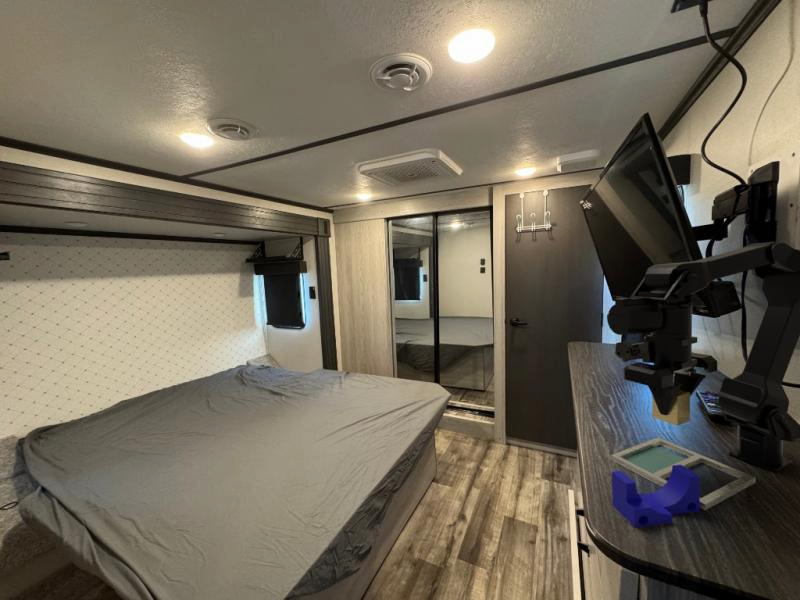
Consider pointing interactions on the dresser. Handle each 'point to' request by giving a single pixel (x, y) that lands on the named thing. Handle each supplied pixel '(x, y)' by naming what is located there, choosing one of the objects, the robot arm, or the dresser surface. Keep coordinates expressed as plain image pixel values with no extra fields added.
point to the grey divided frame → (659, 464)
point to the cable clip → (656, 497)
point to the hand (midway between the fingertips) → (670, 412)
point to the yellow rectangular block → (675, 409)
